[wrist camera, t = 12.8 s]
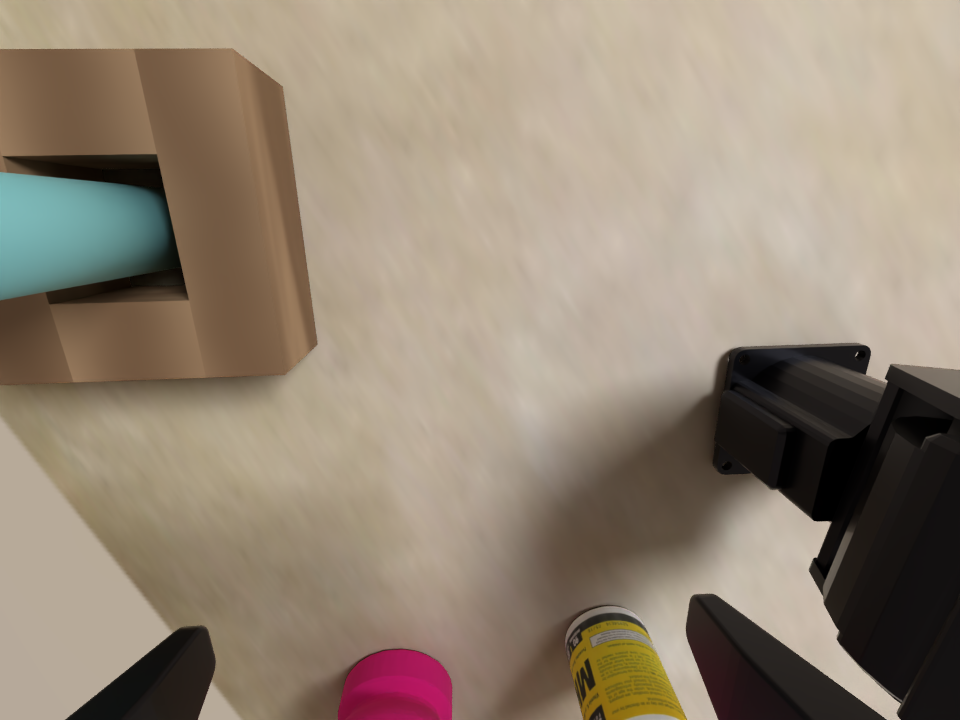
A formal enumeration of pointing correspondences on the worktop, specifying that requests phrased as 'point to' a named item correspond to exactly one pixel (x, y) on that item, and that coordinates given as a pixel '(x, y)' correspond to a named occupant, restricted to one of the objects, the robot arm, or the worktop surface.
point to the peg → (79, 233)
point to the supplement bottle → (618, 668)
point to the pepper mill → (397, 688)
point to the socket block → (193, 209)
